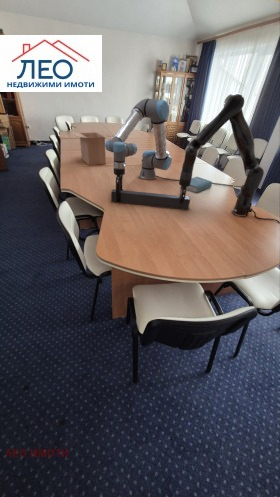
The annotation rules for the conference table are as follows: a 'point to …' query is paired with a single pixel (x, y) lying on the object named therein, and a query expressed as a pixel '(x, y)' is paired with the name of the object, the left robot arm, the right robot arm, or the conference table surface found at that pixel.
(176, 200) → the bar
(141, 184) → the conference table surface
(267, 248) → the conference table surface
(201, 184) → the book
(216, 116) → the right robot arm
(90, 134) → the box
